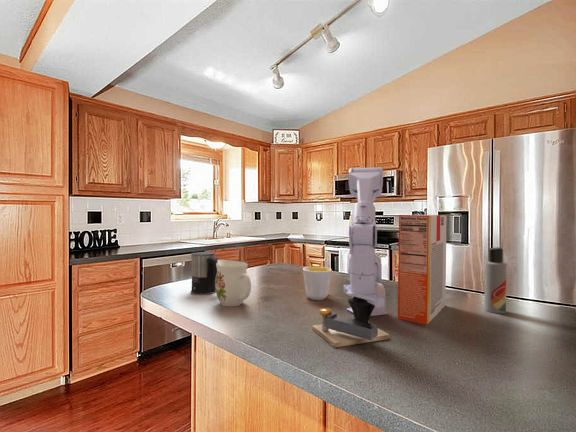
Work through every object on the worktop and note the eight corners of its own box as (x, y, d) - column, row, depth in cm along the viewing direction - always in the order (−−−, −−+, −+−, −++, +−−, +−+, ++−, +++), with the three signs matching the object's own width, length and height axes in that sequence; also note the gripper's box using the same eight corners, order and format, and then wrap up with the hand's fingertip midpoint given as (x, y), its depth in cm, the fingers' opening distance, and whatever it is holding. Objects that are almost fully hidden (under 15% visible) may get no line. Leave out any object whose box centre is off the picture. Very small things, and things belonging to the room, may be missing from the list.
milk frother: (185, 293, 121) (185, 253, 120) (208, 284, 136) (208, 249, 135) (219, 296, 116) (219, 255, 116) (239, 287, 131) (239, 250, 131)
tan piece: (361, 322, 90) (361, 304, 90) (389, 338, 79) (389, 318, 79) (312, 329, 85) (312, 310, 85) (334, 347, 74) (334, 325, 74)
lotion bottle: (509, 314, 99) (510, 248, 98) (488, 313, 100) (489, 248, 100) (500, 308, 104) (501, 246, 104) (481, 307, 105) (482, 246, 105)
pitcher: (234, 314, 97) (235, 268, 97) (204, 301, 110) (204, 261, 110) (263, 306, 104) (263, 264, 104) (232, 296, 117) (232, 258, 117)
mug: (322, 303, 109) (322, 272, 108) (297, 298, 115) (297, 269, 114) (340, 295, 120) (341, 267, 120) (316, 291, 126) (317, 264, 125)
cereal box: (419, 301, 112) (421, 214, 112) (445, 305, 108) (446, 215, 107) (397, 318, 94) (399, 215, 94) (427, 324, 89) (428, 215, 89)
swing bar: (316, 325, 81) (316, 310, 81) (324, 321, 83) (324, 306, 83) (370, 340, 71) (371, 323, 71) (377, 335, 74) (377, 319, 74)
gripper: (333, 268, 84) (332, 321, 84) (365, 280, 70) (365, 342, 71) (356, 267, 86) (356, 318, 87) (392, 278, 73) (391, 338, 73)
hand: (361, 329), depth 79 cm, fingers closed
